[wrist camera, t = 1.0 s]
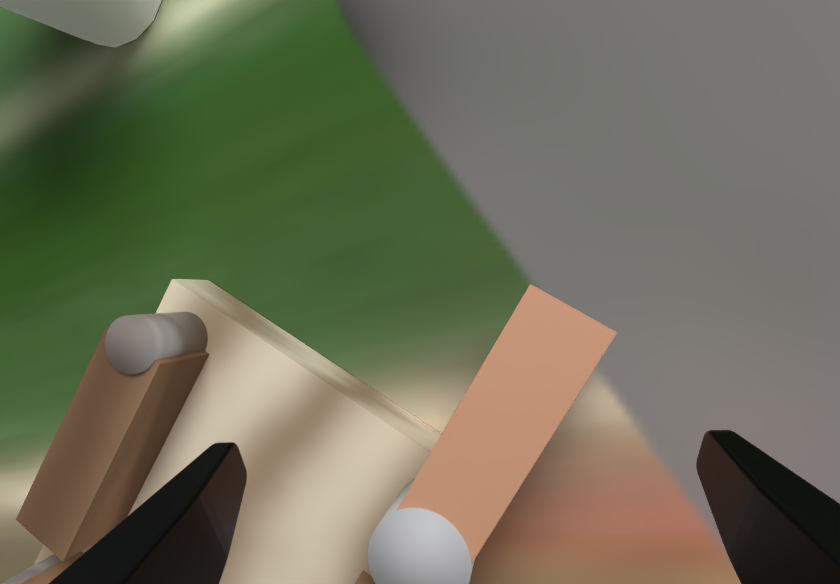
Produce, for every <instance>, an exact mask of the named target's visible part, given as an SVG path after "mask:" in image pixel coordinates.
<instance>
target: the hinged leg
mask: <svg viewBox="0 0 840 584" xmlns="http://www.w3.org/2000/svg"><path fill="white" fill-rule="evenodd" d="M616 333H617V332H615V331H613V330H611V329H610V328H608V327H606V326H604V325H603V324H601V323H599V322H597V321H595V320H594V319H592V318H590V317H588V316H587V315H585V314H583V313H581V312H579V311H578V310H576V309H574V308H572V307H570V306H569V305H567V304H565V303H563V302H562V301H560V300H558V299H556V298H554V297H553V296H551V295H549V294H547V293H545V292H544V291H542V290H540V289H538V288H537V287H535V286H533V285H531V284H530V286H529V287H528V289H527V291H526V292H525V294H524V296H523V297H522V299H521V301H520V302H519V304H518V306H517V307H516V309H515V311H514V313H513V314H512V316H511V318H510V319H509V321H508V323H507V324H506V326H505V328H504V329H503V331H502V333H501V335H500V336H499V338H498V340H497V341H496V343H495V345H494V346H493V348H492V350H491V351H490V353H489V355H488V356H487V358H486V360H485V362H484V363H483V365H482V367H481V368H480V370H479V372H478V373H477V375H476V377H475V378H474V380H473V382H472V383H471V385H470V387H469V389H468V390H467V392H466V394H465V395H464V397H463V399H462V400H461V402H460V404H459V405H458V407H457V409H456V411H455V412H454V414H453V416H452V417H451V419H450V421H449V422H448V424H447V426H446V427H445V429H444V431H443V432H442V434H441V436H440V438H439V439H438V441H437V443H436V444H435V446H434V448H433V449H432V451H431V453H430V454H429V456H428V458H427V459H426V461H425V463H424V465H423V466H422V468H421V470H420V471H419V473H418V475H417V476H416V478H415V479H413V480H411V481H410V482H409V483H407V484H406V485H405V487H404V488H403V489H402V490H401V492H400V493H399V495H398V496H397V498H396V499H395V501H394V502H393V504H392V505H391V507H390V508H389V509H388V511H387V512H386V514H385V515H384V517H383V518H382V520H381V521H380V523H379V524H378V526H377V527H376V528H375V530H374V532H373V534H372V536H371V539H370V542H369V547H368V564H369V569H370V572H371V575H372V578H373V580H374V582H375V584H469V582H470V577H471V573H472V569H473V565H474V561H475V558H476V556H477V555H478V553H479V551H480V550H481V548H482V547H483V545H484V543H485V542H486V540H487V539H488V537H489V535H490V534H491V532H492V531H493V529H494V528H495V526H496V524H497V523H498V521H499V520H500V518H501V516H502V515H503V513H504V512H505V510H506V508H507V507H508V505H509V504H510V502H511V500H512V499H513V497H514V496H515V494H516V492H517V491H518V489H519V488H520V486H521V484H522V483H523V481H524V480H525V478H526V477H527V475H528V473H529V472H530V470H531V469H532V467H533V465H534V464H535V462H536V461H537V459H538V457H539V456H540V454H541V453H542V451H543V449H544V448H545V446H546V445H547V443H548V441H549V440H550V438H551V437H552V435H553V433H554V432H555V430H556V429H557V427H558V425H559V424H560V422H561V421H562V419H563V418H564V416H565V414H566V413H567V411H568V410H569V408H570V406H571V405H572V403H573V402H574V400H575V398H576V397H577V395H578V394H579V392H580V390H581V389H582V387H583V386H584V384H585V382H586V381H587V379H588V378H589V376H590V374H591V373H592V371H593V370H594V368H595V366H596V365H597V363H598V362H599V360H600V359H601V357H602V355H603V353H604V352H605V351H606V349H607V347H608V346H609V344H610V343H611V341H612V339H613V338H614V336H615V335H616Z"/></svg>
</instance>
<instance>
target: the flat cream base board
mask: <svg viewBox="0 0 840 584" xmlns="http://www.w3.org/2000/svg"><path fill="white" fill-rule="evenodd" d="M440 436H441V434H440V433H438V432H437V431H435V430H434V429H432V428H431V427H429V426H428V425H426V424H425V423H423V422H422V421H420V420H419V419H417V418H416V417H414V416H413V415H411V414H410V413H408V412H407V411H405V410H404V409H402V408H401V407H399V406H398V405H396V404H394V403H393V402H391V401H390V400H388V399H387V398H385V397H384V396H382V395H381V394H379V393H378V392H376V391H375V390H373V389H372V388H370V387H369V386H367V385H366V384H364V383H363V382H361V381H360V380H358V379H357V378H355V377H354V376H352V375H351V374H349V373H348V372H346V371H345V370H343V369H342V368H340V367H339V366H337V365H335V364H334V363H332V362H331V361H329V360H328V359H326V358H325V357H323V356H322V355H320V354H319V353H317V352H316V351H314V350H313V349H311V348H310V347H308V346H307V345H305V344H304V343H302V342H301V341H299V340H298V339H296V338H295V337H293V336H292V335H290V334H289V333H287V332H286V331H284V330H283V329H281V328H280V327H278V326H276V325H275V324H273V323H272V322H270V321H269V320H267V319H266V318H264V317H263V316H261V315H260V314H258V313H257V312H255V311H254V310H252V309H251V308H249V307H248V306H246V305H245V304H243V303H242V302H240V301H239V300H237V299H236V298H234V297H233V296H231V295H230V294H228V293H227V292H225V291H224V290H222V289H221V288H219V287H217V286H216V285H214V284H213V283H211V282H210V281H208V280H188V279H172V281H171V283H170V285H169V287H168V289H167V291H166V293H165V295H164V297H163V299H162V301H161V303H160V305H159V308H158V310H157V312H156V314H140V315H126V316H122V317H119V318H118V319H116V320H115V321H114V322H113V323H112V324H111V325H107V327H106V329H105V331H104V333H103V336H102V338H101V340H100V342H99V344H98V346H97V348H96V350H95V353H94V355H93V357H92V359H91V361H90V363H89V365H88V367H87V370H86V372H85V374H84V376H83V378H82V380H81V382H80V384H79V387H78V389H77V391H76V393H75V395H74V397H73V399H72V401H71V404H70V406H69V408H68V410H67V412H66V414H65V416H64V418H63V421H62V423H61V425H60V427H59V429H58V431H57V433H56V435H55V438H54V440H53V442H52V444H51V446H50V448H49V450H48V452H47V455H46V457H45V459H44V461H43V463H42V465H41V467H40V469H39V472H38V474H37V476H36V478H35V480H34V482H33V484H32V486H31V489H30V491H29V493H28V495H27V497H26V499H25V501H24V503H23V506H22V508H21V510H20V512H19V514H18V516H17V518H16V520H17V521H18V522H19V523H20V524H21V525H22V526H24V527H25V528H26V529H27V530H28V531H29V532H30V533H31V534H33V535H34V536H35V537H36V538H37V539H38V540H39V541H40V542H41V543H43V544H44V545H43V547H42V549H41V552H40V554H39V556H38V558H37V560H36V562H35V564H34V565H33V566H31V567H30V568H28V569H26V570H24V571H22V572H20V573H19V574H17V575H15V576H13V577H11V578H9V579H8V580H6V581H4V582H2V583H0V584H48V583H50V582H51V581H52V580H53V579H54V578H55V577H57V576H58V575H59V574H60V573H61V572H63V571H64V570H65V569H66V568H67V567H68V566H70V565H71V564H72V563H73V562H74V561H76V560H77V559H78V558H79V557H80V556H81V555H83V554H84V553H85V552H86V551H87V550H88V549H90V548H91V547H92V546H93V545H94V544H96V543H97V542H98V541H99V540H100V539H101V538H103V537H104V536H105V535H106V534H107V533H108V532H110V531H111V530H112V529H113V528H114V527H116V526H117V525H118V524H119V523H120V522H121V521H123V520H124V519H125V518H126V517H127V516H128V515H130V514H131V513H132V512H133V511H134V510H136V509H137V508H138V507H139V506H140V505H141V504H143V503H144V502H145V501H146V500H147V499H149V498H150V497H151V496H152V495H153V494H154V493H156V492H157V491H158V490H159V489H160V488H161V487H163V486H164V485H165V484H166V483H167V482H169V481H170V480H171V479H172V478H173V477H174V476H176V475H177V474H178V473H179V472H180V471H181V470H183V469H184V468H185V467H186V466H187V465H189V464H190V463H191V462H192V461H193V460H194V459H196V458H197V457H198V456H199V455H200V454H202V453H203V452H204V451H205V450H206V449H207V448H209V447H210V446H211V445H213V444H214V443H219V442H233V443H235V444H236V445H237V446H238V448H239V451H240V453H241V456H242V459H243V462H244V464H245V467H246V470H247V482H246V486H245V490H244V495H243V499H242V503H241V507H240V511H239V515H238V519H237V523H236V527H235V532H234V536H233V540H232V544H231V548H230V552H229V555H228V559H227V562H226V565H225V568H224V571H223V574H222V577H221V580H220V582H219V584H375V582H374V580H373V578H372V575H371V572H370V569H369V564H368V547H369V542H370V539H371V536H372V534H373V532H374V530H375V528H376V527H377V526H378V524H379V523H380V521H381V520H382V518H383V517H384V515H385V514H386V512H387V511H388V509H389V508H390V507H391V505H392V504H393V502H394V501H395V499H396V498H397V496H398V495H399V493H400V492H401V490H402V489H403V488H404V487H405V485H406V484H407V483H409V482H410V481H411V480H413V479H415V478H416V476H417V475H418V473H419V471H420V470H421V468H422V466H423V465H424V463H425V461H426V459H427V458H428V456H429V454H430V453H431V451H432V449H433V448H434V446H435V444H436V443H437V441H438V439H439V438H440Z"/></svg>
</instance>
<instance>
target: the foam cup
mask: <svg viewBox="0 0 840 584" xmlns="http://www.w3.org/2000/svg"><path fill="white" fill-rule="evenodd" d="M161 1H162V0H0V7H2V8H5V9H7V10H10V11H13V12H15V13H18V14H20V15H23V16H25V17H28V18H30V19H33V20H35V21H38V22H40V23H43V24H45V25H48V26H50V27H53V28H55V29H58V30H60V31H63V32H66V33H68V34H71V35H73V36H76V37H78V38H81V39H83V40H88V41H91V42H93V43H95V44H98V45H104V46H110V47H118V46H121V45H123V44H126V43H128V42H131V41H133V40H136V39H137V38H138V37H139V36H140V35H141V34H142V33H143V32H144V31H145V30H146V28H147V27H148V26H149V25H150V24H151V23H152V22H153V21H154V19H155V16H156V14H157V11H158V9H159V6H160V4H161Z"/></svg>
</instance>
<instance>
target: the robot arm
mask: <svg viewBox="0 0 840 584" xmlns="http://www.w3.org/2000/svg"><path fill="white" fill-rule="evenodd" d="M697 472H698V475H699V478H700V481H701V483H702V486H703V489H704V492H705V494H706V497H707V500H708V503H709V505H710V508H711V511H712V514H713V516H714V519H715V522H716V525H717V527H718V530H719V533H720V536H721V538H722V541H723V544H724V546H725V549H726V551H727V554H728V556H729V558H730V561H731V563H732V565H733V567H734V569H735V571H736V574H737V576H738V578H739V580H740V582H741V584H840V504H839V503H838V502H836V501H835V500H834V499H832V498H831V497H829V496H828V495H826V494H825V493H823V492H822V491H820V490H819V489H817V488H816V487H814V486H813V485H811V484H810V483H808V482H807V481H806V480H804V479H803V478H801V477H800V476H798V475H797V474H795V473H794V472H792V471H791V470H789V469H788V468H787V467H785V466H784V465H782V464H781V463H779V462H778V461H776V460H775V459H773V458H772V457H770V456H769V455H767V454H766V453H764V452H763V451H762V450H760V449H759V448H757V447H756V446H754V445H753V444H751V443H750V442H748V441H747V440H745V439H744V438H742V437H741V436H740V435H738V434H736V433H735V432H733V431H730V430H710V431H707V432H706V433H705V435H704V437H703V441H702V444H701V448H700V451H699V455H698V458H697ZM246 482H247V470H246V467H245V464H244V462H243V459H242V456H241V453H240V451H239V448H238V446H237V445H236V444H235V443H233V442H219V443H214V444H213V445H211V446H210V447H209V448H207V449H206V450H205V451H204V452H203V453H202V454H200V455H199V456H198V457H197V458H196V459H194V460H193V461H192V462H191V463H190V464H189V465H187V466H186V467H185V468H184V469H183V470H181V471H180V472H179V473H178V474H177V475H176V476H174V477H173V478H172V479H171V480H170V481H169V482H167V483H166V484H165V485H164V486H163V487H161V488H160V489H159V490H158V491H157V492H156V493H154V494H153V495H152V496H151V497H150V498H149V499H147V500H146V501H145V502H144V503H143V504H141V505H140V506H139V507H138V508H137V509H136V510H134V511H133V512H132V513H131V514H130V515H128V516H127V517H126V518H125V519H124V520H123V521H121V522H120V523H119V524H118V525H117V526H116V527H114V528H113V529H112V530H111V531H110V532H108V533H107V534H106V535H105V536H104V537H103V538H101V539H100V540H99V541H98V542H97V543H96V544H94V545H93V546H92V547H91V548H90V549H88V550H87V551H86V552H85V553H84V554H83V555H81V556H80V557H79V558H78V559H77V560H76V561H74V562H73V563H72V564H71V565H70V566H68V567H67V568H66V569H65V570H64V571H63V572H61V573H60V574H59V575H58V576H57V577H55V578H54V579H53V580H52V581H51V582H50V583H48V584H219V582H220V580H221V577H222V574H223V571H224V568H225V565H226V562H227V559H228V555H229V552H230V548H231V544H232V540H233V536H234V532H235V527H236V523H237V519H238V515H239V511H240V507H241V503H242V499H243V495H244V490H245V486H246Z"/></svg>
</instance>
